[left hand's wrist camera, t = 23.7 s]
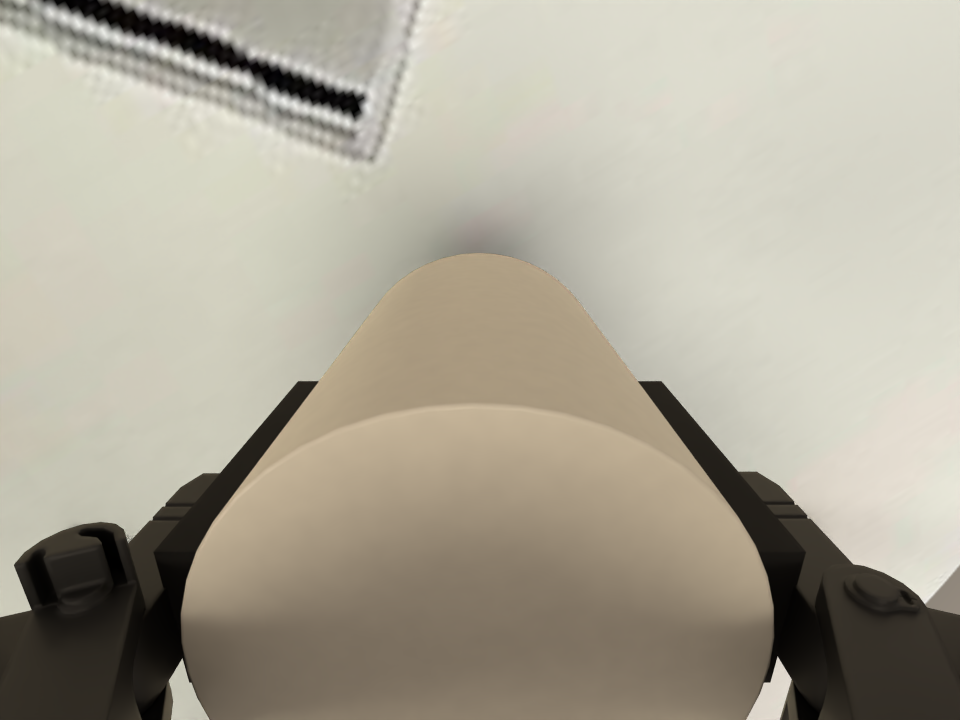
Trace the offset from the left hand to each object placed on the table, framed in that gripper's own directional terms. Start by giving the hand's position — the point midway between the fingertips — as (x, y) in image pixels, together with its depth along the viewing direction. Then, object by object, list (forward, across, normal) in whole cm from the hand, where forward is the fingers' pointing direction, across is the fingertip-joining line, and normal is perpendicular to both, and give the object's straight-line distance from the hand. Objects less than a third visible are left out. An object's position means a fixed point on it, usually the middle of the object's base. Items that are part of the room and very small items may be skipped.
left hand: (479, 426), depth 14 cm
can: (+4, 0, 0) cm, 4 cm away
